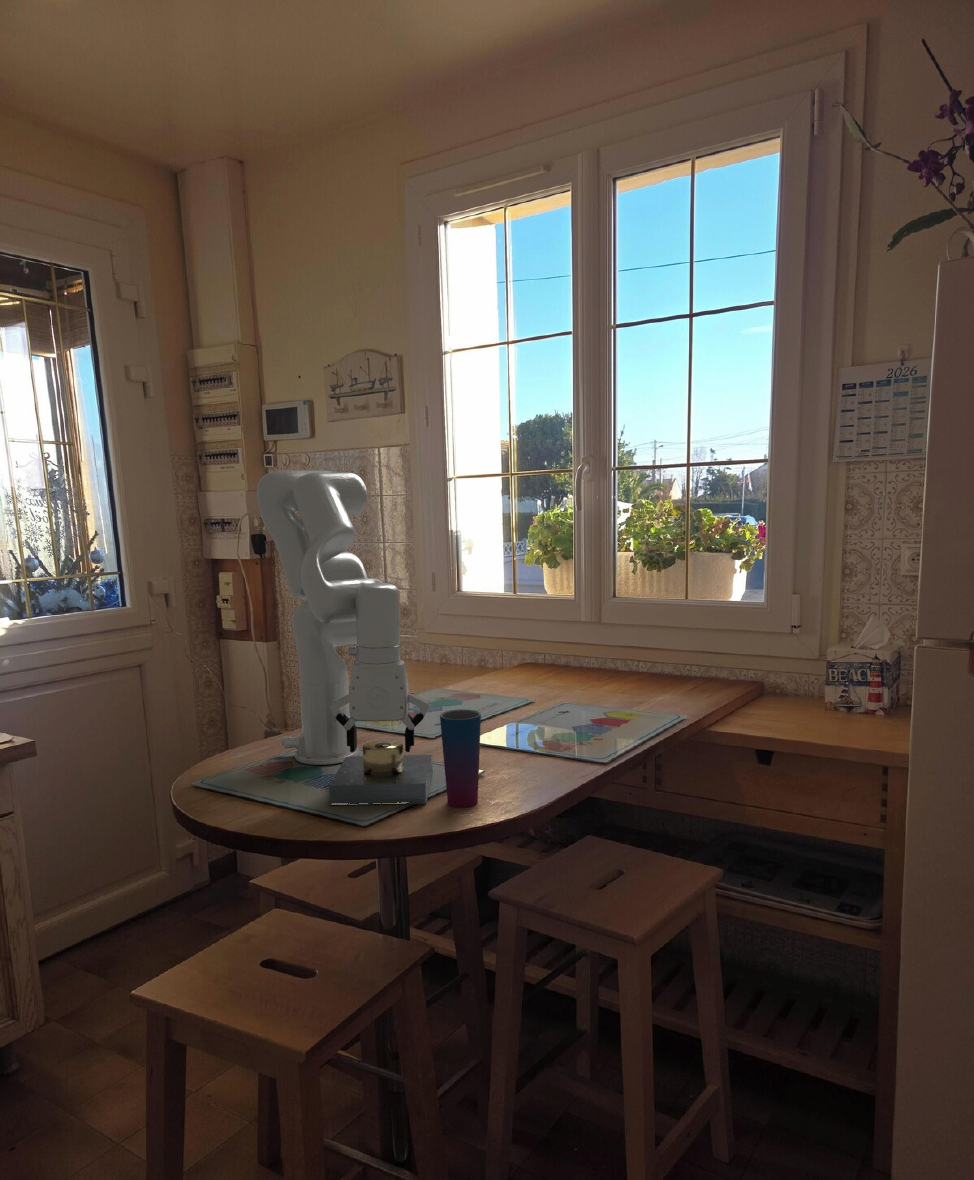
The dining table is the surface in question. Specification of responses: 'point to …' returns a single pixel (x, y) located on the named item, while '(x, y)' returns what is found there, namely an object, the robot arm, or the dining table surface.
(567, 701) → the dining table surface
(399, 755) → the bushing
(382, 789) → the block
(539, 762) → the dining table surface
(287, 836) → the dining table surface
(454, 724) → the cup
